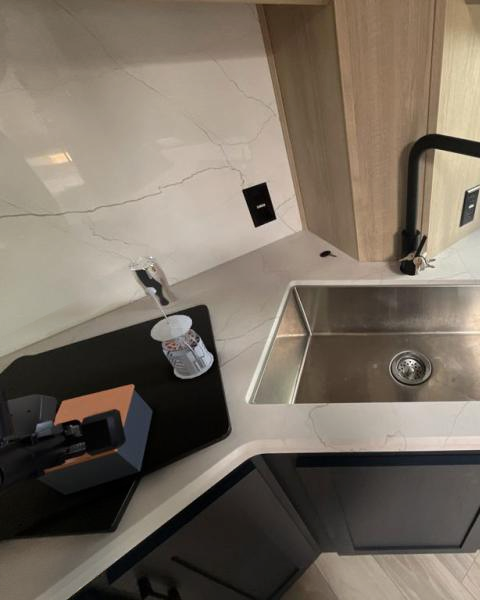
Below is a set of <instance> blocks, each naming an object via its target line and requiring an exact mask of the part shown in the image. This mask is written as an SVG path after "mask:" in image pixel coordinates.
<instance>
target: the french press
mask: <svg viewBox="0 0 480 600" xmlns="http://www.w3.org/2000/svg"><path fill="white" fill-rule="evenodd" d="M155 293H156V290H155V289H154V288H153V287H148V288H147V289H146V290H145V291H144V294H145V295H146V296H149V295H152V296H153V298H154V300H155V301H156V303H157V305H158V306H159V308H160V309H159V310H160V312H161V313H162V315H163V316H164V319H161V320H159V321H158V322H157V323H156V324H155V325H154V326H153V327H152V329H151V330H150V336H151V338H152V339H153V340H155V341H157V342H161V348H162V352H163V354H164V355H165V356H166V358H167V360H168V361H169V363H170V364H171V365H172V367H173V373H174V375H175V376H176V377H177V378H180V379H182V380H185V379H193V378H196V377H198V376H201V375H202V374H204V373H206V372H207V371H208V370H209V369H210V368H211V367H212V365H213V362H214V355H213V354H212V352H209V351H208V349H207V348H206V346H205V344H204V342H203V340H202V338H201V337H200V335H199V334H198V333H197V332H196V331H195V330H194V329H191V327H192V325H193V321H192V320H193V319H192V318H190V316H188V315H184V314H174V315H170V316H166V314H165V312H164V309H161V307H160V305H159V304H158V302H157V300H156V299H155V297H154V295H153V294H155Z"/></svg>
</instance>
